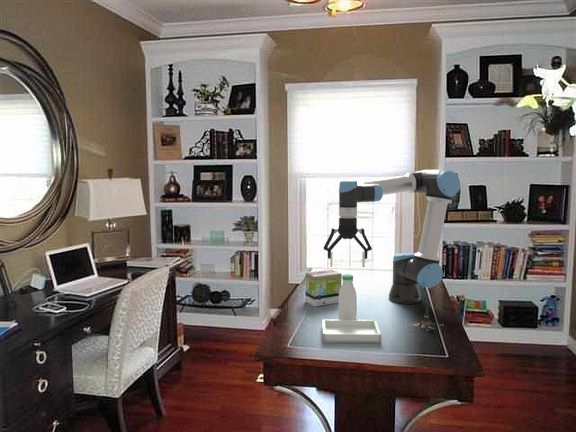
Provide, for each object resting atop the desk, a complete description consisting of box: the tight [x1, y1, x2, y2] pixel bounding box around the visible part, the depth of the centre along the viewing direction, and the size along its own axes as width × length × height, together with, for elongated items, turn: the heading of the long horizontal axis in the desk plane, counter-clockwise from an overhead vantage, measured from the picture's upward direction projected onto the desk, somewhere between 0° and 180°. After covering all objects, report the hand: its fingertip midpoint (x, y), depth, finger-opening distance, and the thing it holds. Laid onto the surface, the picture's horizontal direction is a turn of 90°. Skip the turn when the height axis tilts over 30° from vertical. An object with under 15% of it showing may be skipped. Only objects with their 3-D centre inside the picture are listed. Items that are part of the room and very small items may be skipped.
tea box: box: [304, 269, 343, 308], centre depth 231 cm, size 15×10×15 cm, turn 117°
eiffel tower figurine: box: [408, 299, 445, 332], centre depth 196 cm, size 15×10×13 cm
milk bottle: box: [338, 273, 357, 320], centre depth 205 cm, size 8×8×20 cm
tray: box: [321, 318, 382, 344], centre depth 189 cm, size 22×16×4 cm
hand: (347, 266), depth 203 cm, fingers open, 13 cm apart
